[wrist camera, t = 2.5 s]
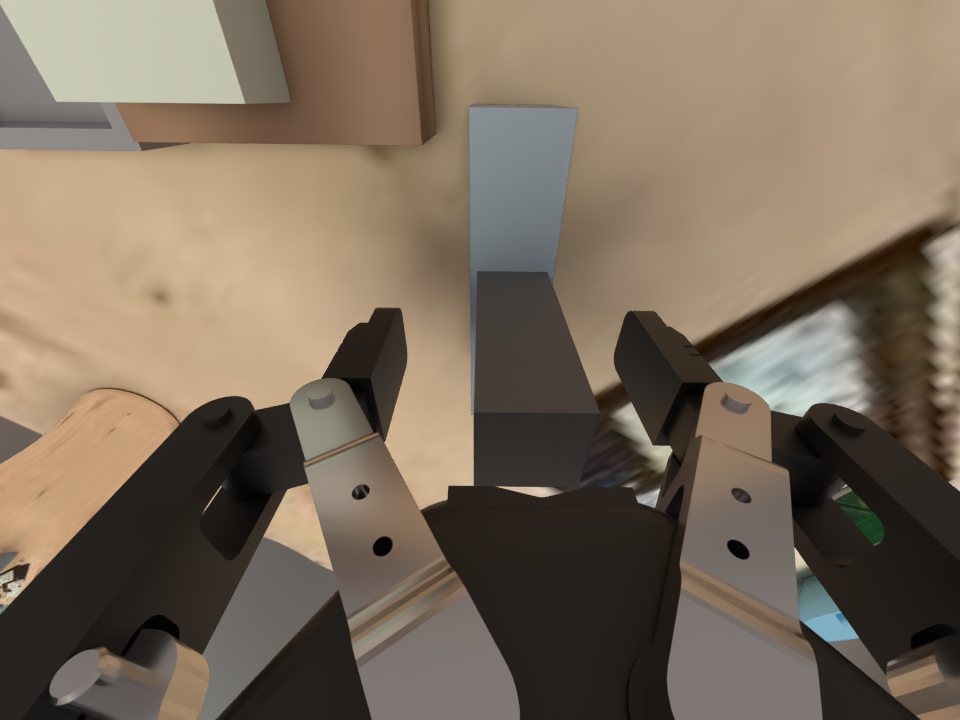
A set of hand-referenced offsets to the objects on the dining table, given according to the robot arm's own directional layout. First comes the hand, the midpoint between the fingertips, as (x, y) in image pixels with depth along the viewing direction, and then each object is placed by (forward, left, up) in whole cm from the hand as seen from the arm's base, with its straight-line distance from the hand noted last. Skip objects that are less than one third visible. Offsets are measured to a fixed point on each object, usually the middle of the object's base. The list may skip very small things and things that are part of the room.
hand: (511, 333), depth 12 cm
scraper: (0, 0, -7) cm, 7 cm away
